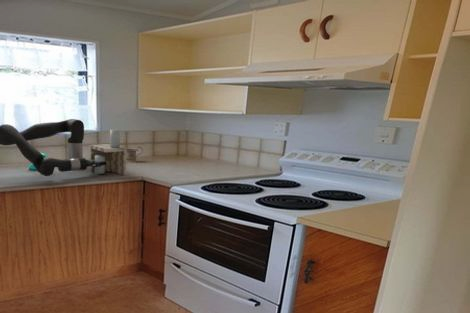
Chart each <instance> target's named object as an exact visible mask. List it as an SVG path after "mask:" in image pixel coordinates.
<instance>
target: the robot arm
mask: <svg viewBox="0 0 470 313" xmlns="http://www.w3.org/2000/svg"><path fill="white" fill-rule="evenodd" d="M62 133H70V137H68V138H67V159H58V158H53V157H47V158H44V157H43V155H42V154H41V153H42V152H40V151H39V150H37V149H36V148H35V147H34V146H32V145H31V144H30V143H29V141H33V140H38V139H46V138H51V137H53V136H55V135H58V134H62ZM84 137H85V125H84V122H83V121H82V120H81V119H76V118H70V119H65V120H61V121H55V122H53V121H52V122H40V123H37V124H33V125H31V126H29V127H28V128H26V129H24V130H22V131H18V129H17V128H16V127H15V126H14V125H11V124H7V123H6V124H5V123H4V124H1V125H0V145H1V146H12V145H16V147H17V148H18V150H19V152H20V153H21V155H23V157H24V158H25V159H26V160H27V161H29V162H30V164H32V163H33V165H34V166H35V168H36V169H37V170H36V171H37V172H38V173H39V174H40V175H42V176H45V177H50V176H52V175H53V173H54V171H55V168H57V170H58V172H61V173H64V172H77V171H85V170H87V169H88V168H91V167H101V165H106V161H104V162H97V161H95V160H91V159H86V158H85V157H83V155H84V154H83V153H84V149H83V147H84V146H83V141H84V139H85V138H84ZM98 164H99V165H98Z"/></svg>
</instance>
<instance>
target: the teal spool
mask: <svg viewBox="0 0 470 313" xmlns="http://www.w3.org/2000/svg"><path fill="white" fill-rule="evenodd" d="M40 153H41V154H42V155H43V157H44V159H46V157H47V154H46V153H43V152H40ZM28 167H29V169H30V170H35V171H38V170H37V169H36V168H35V166H34V165H33V163H30V164H29V165H28Z"/></svg>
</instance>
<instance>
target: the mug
mask: <svg viewBox="0 0 470 313" xmlns="http://www.w3.org/2000/svg"><path fill="white" fill-rule="evenodd" d="M138 149H141V153H138V154H137V152H138ZM143 152H144V149H143V148H142V147H141V146H137V148H126V164H127V163H131V164H133V163H134V162H135V163H137V162H138V161H137V157H138V156H140V155H141V154H143Z"/></svg>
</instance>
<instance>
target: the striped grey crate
mask: <svg viewBox="0 0 470 313" xmlns="http://www.w3.org/2000/svg"><path fill="white" fill-rule="evenodd" d="M89 146H90V147H89V148H90V160H95V155H105V161H106V165H105V172H109V171H110V172H112V173H116V174H119V175H121V176H126V175H127V172H126V171H127V170H126V169H127V162H126V149H127V147H126V146H125V147H124V146H121V145H120V148H111V147H110V143H108V144H90V145H89ZM90 173H95V167H90Z"/></svg>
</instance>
